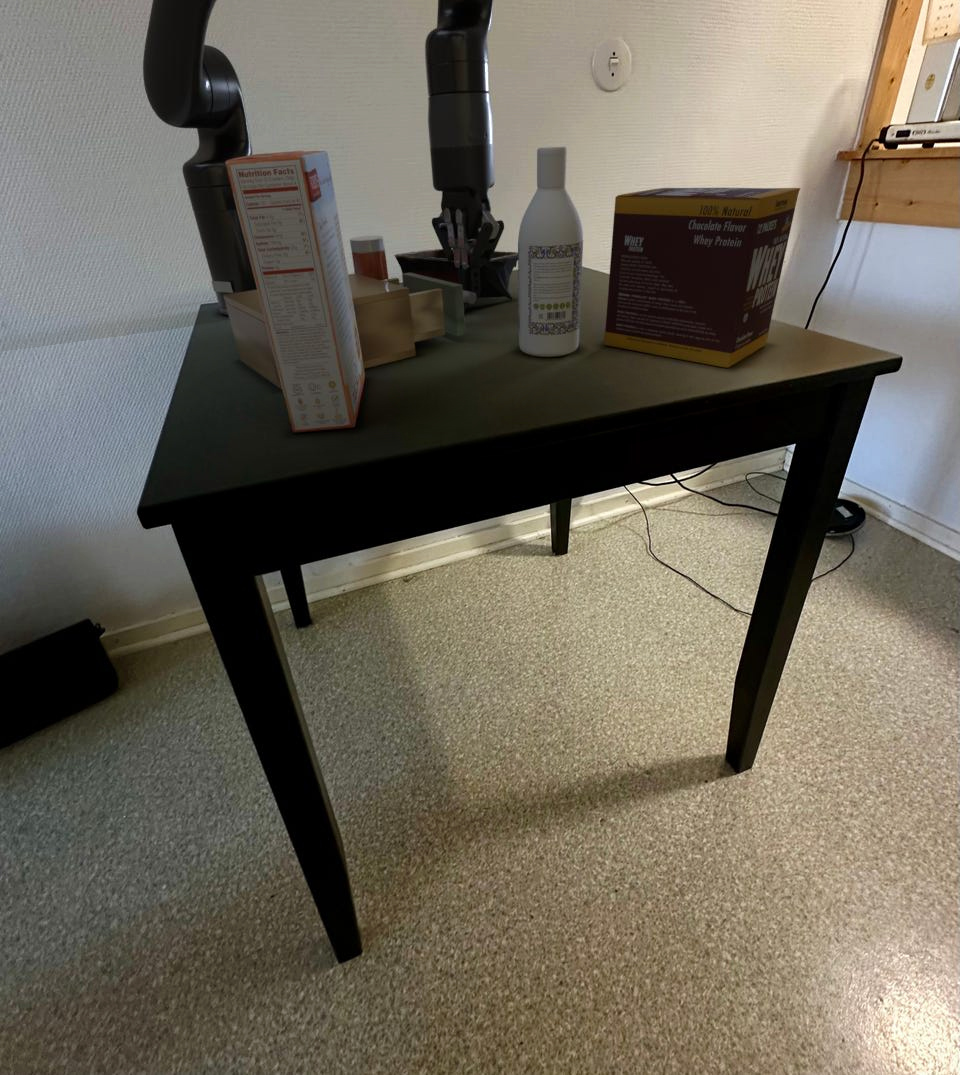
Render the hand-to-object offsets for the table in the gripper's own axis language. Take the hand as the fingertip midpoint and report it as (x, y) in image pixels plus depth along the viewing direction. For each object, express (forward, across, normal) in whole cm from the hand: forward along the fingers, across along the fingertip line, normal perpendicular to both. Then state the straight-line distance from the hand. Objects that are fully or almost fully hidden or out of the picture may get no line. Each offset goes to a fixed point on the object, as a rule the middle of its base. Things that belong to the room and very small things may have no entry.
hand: (470, 297), depth 80 cm
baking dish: (+4, +12, -6) cm, 14 cm away
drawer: (+3, 0, +11) cm, 11 cm away
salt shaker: (+4, +10, +9) cm, 14 cm away
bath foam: (+4, -16, 0) cm, 16 cm away
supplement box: (+4, -26, -12) cm, 29 cm away
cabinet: (+4, 0, +21) cm, 21 cm away
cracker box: (+4, -14, +27) cm, 31 cm away
